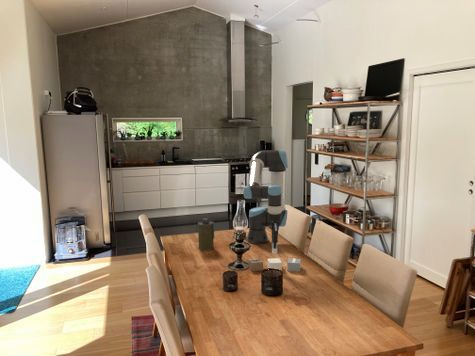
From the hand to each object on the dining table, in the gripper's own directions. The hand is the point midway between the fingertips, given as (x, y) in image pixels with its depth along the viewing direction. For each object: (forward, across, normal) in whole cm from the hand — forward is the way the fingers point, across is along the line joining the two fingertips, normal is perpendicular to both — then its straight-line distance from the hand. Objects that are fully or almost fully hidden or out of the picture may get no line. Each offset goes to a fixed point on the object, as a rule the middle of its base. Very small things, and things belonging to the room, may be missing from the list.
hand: (274, 253), depth 217 cm
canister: (+9, -39, -41) cm, 57 cm away
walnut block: (+9, -1, -11) cm, 15 cm away
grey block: (+9, +1, +11) cm, 15 cm away
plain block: (+9, 0, 0) cm, 9 cm away
